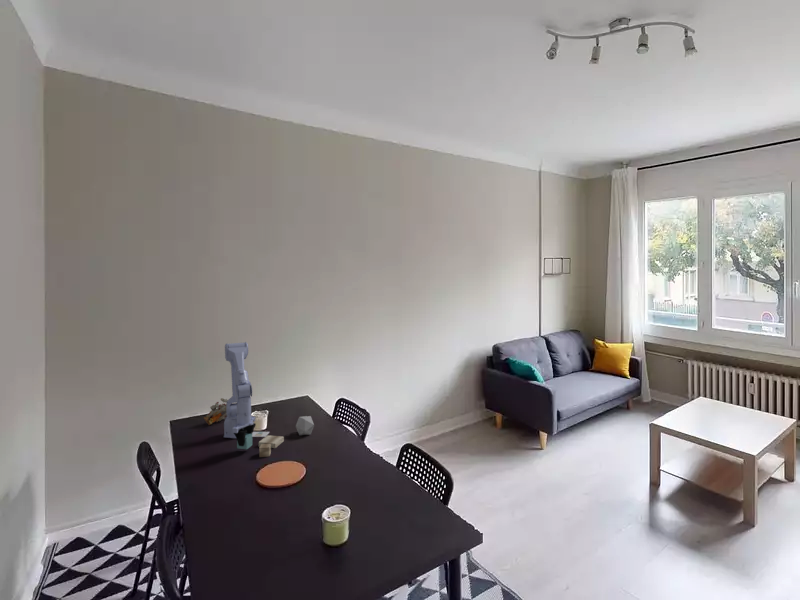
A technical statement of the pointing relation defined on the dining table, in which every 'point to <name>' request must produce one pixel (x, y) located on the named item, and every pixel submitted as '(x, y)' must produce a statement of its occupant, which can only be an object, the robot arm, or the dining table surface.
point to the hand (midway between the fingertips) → (244, 443)
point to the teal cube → (246, 442)
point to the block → (265, 450)
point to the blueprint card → (260, 434)
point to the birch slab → (272, 440)
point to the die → (305, 425)
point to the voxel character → (216, 412)
